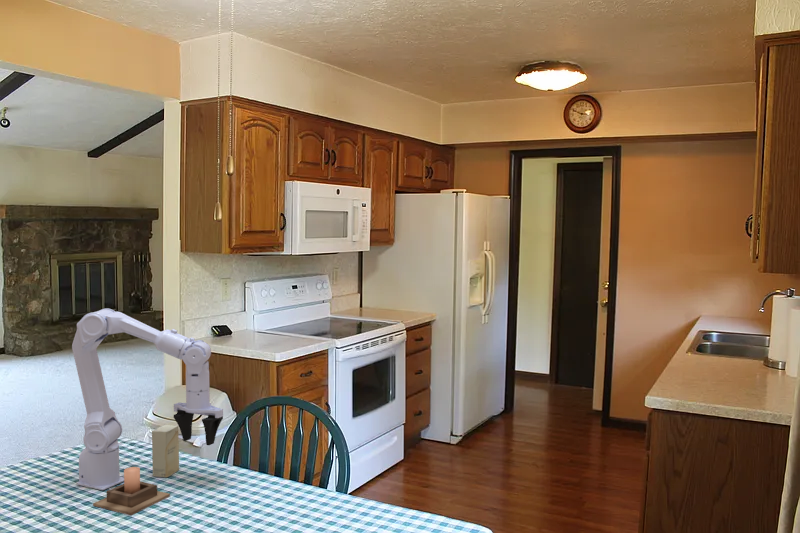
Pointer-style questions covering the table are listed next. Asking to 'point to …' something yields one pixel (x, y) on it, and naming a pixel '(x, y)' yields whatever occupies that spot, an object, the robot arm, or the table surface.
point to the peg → (131, 480)
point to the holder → (131, 499)
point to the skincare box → (165, 450)
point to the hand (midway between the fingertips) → (198, 442)
